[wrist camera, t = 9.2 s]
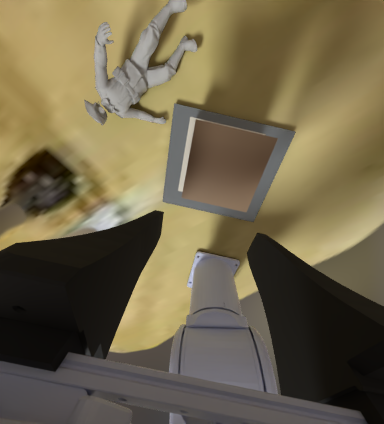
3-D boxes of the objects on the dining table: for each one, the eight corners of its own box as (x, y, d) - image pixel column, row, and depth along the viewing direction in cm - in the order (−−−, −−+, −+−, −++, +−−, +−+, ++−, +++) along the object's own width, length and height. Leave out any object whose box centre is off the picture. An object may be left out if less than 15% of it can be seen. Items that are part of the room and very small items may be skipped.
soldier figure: (208, 84, 15) (135, 159, 16) (183, 77, 18) (121, 143, 18) (176, -55, 9) (51, 84, 9) (144, -36, 11) (45, 73, 11)
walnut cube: (233, 192, 15) (246, 212, 10) (188, 182, 15) (181, 197, 10) (251, 142, 13) (277, 138, 8) (198, 129, 12) (195, 119, 8)
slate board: (252, 220, 21) (253, 222, 20) (163, 200, 21) (162, 201, 20) (292, 132, 16) (295, 131, 15) (175, 104, 16) (174, 103, 15)
